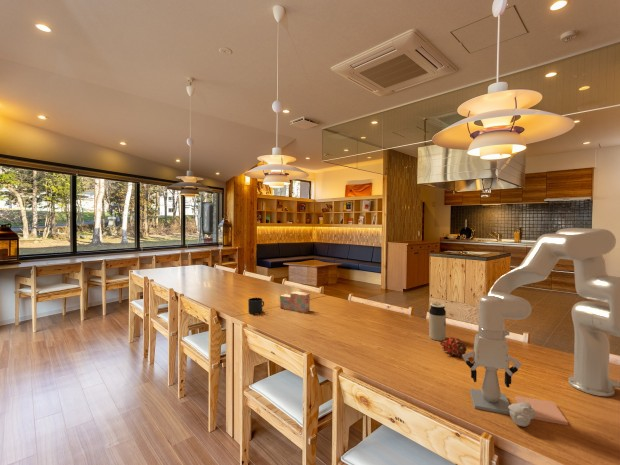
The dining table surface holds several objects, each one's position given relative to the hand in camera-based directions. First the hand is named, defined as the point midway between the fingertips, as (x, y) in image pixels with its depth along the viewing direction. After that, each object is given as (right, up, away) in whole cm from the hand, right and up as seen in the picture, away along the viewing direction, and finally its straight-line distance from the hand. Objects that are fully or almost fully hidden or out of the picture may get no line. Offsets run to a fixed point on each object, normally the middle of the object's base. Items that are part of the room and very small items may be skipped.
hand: (490, 382), depth 104 cm
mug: (-98, -4, +108) cm, 146 cm away
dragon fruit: (+5, -6, +38) cm, 39 cm away
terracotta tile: (+13, -7, -5) cm, 16 cm away
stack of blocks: (-72, -4, +113) cm, 134 cm away
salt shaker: (0, -6, 0) cm, 6 cm away
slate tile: (0, -7, 0) cm, 7 cm away
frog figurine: (+3, -7, -11) cm, 14 cm away
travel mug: (+6, -5, +58) cm, 58 cm away
